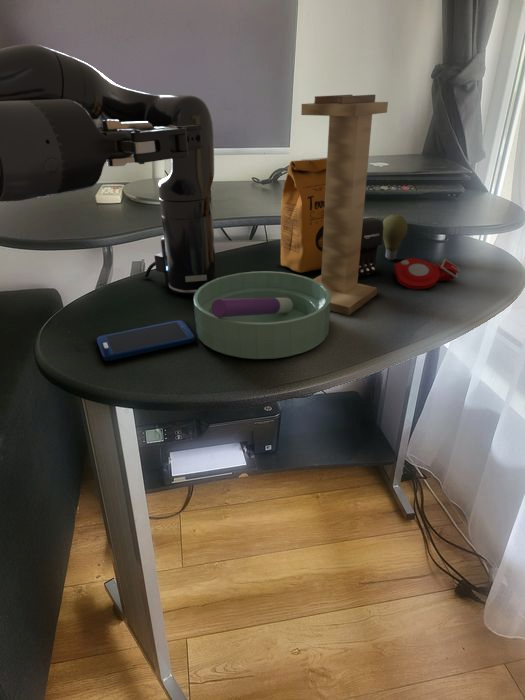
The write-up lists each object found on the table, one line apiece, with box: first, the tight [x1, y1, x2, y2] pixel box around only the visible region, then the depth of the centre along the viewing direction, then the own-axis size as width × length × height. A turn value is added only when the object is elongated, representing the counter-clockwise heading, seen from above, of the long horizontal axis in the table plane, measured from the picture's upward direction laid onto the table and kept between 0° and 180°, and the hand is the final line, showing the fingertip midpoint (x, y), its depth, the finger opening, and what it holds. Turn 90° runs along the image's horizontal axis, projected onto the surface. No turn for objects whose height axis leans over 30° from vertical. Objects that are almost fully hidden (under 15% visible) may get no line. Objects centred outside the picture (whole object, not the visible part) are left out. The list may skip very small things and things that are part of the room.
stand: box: [300, 94, 389, 316], centre depth 81 cm, size 12×11×33 cm
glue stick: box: [212, 298, 293, 317], centre depth 74 cm, size 18×3×3 cm, turn 143°
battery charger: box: [358, 216, 384, 278], centre depth 96 cm, size 7×4×11 cm, turn 116°
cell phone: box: [96, 319, 196, 362], centre depth 74 cm, size 7×14×1 cm, turn 115°
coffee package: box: [280, 157, 327, 274], centre depth 98 cm, size 10×12×22 cm
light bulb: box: [382, 213, 409, 262], centre depth 104 cm, size 6×6×10 cm
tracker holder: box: [393, 257, 461, 290], centre depth 95 cm, size 12×4×10 cm
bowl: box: [192, 270, 331, 360], centre depth 76 cm, size 21×21×6 cm
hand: (171, 134), depth 52 cm, fingers open, 8 cm apart
